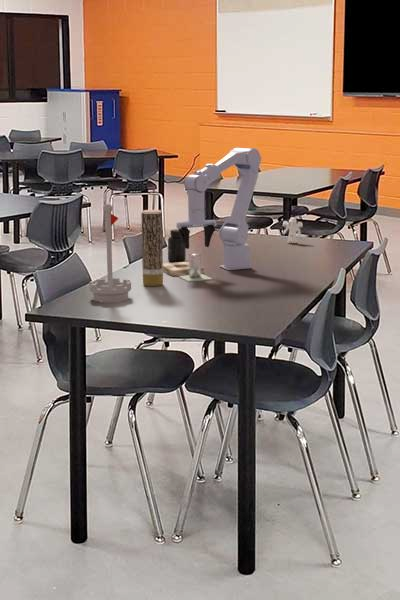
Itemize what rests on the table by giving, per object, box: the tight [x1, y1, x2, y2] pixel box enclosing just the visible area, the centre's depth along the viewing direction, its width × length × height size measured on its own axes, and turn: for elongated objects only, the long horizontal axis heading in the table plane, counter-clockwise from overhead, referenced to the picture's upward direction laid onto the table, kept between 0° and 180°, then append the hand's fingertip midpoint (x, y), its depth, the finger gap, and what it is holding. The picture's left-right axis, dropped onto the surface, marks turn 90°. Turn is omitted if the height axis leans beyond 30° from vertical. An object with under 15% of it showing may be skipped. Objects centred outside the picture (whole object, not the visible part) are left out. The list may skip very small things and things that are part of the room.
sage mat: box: [178, 273, 213, 283], centre depth 312 cm, size 9×9×1 cm
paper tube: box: [140, 209, 164, 287], centre depth 300 cm, size 7×7×25 cm
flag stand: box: [89, 203, 132, 303], centre depth 280 cm, size 13×13×30 cm
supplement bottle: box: [167, 228, 187, 263], centre depth 344 cm, size 7×7×12 cm
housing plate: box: [163, 261, 205, 277], centre depth 325 cm, size 12×14×2 cm
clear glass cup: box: [188, 253, 202, 278], centre depth 312 cm, size 4×4×8 cm
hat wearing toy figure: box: [282, 214, 303, 242], centre depth 383 cm, size 9×4×12 cm, turn 63°
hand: (197, 247), depth 317 cm, fingers open, 7 cm apart
